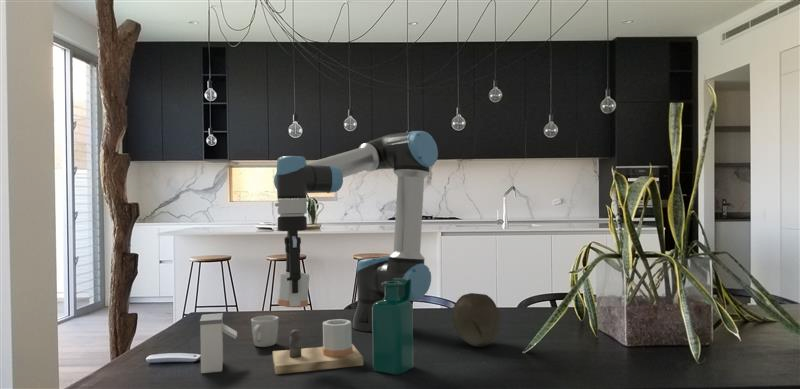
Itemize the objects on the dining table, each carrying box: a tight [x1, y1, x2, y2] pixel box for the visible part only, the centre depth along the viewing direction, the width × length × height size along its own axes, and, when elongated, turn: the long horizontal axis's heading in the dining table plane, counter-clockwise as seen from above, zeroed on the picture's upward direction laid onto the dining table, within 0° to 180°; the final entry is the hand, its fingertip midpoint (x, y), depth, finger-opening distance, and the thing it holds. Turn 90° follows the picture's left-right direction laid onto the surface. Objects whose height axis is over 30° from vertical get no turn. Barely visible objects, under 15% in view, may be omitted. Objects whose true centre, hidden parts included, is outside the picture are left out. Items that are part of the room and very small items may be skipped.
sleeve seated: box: [321, 318, 353, 357], centre depth 146 cm, size 8×8×8 cm
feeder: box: [199, 312, 238, 374], centre depth 142 cm, size 9×8×13 cm
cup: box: [250, 315, 280, 348], centre depth 161 cm, size 11×8×8 cm
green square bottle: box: [371, 278, 414, 376], centre depth 138 cm, size 10×8×22 cm
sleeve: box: [277, 271, 310, 308], centre depth 143 cm, size 8×8×8 cm
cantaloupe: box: [451, 292, 501, 348], centre depth 158 cm, size 14×14×15 cm
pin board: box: [272, 329, 364, 375], centre depth 145 cm, size 22×14×9 cm, turn 106°
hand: (293, 302), depth 143 cm, fingers closed on sleeve, 8 cm apart
